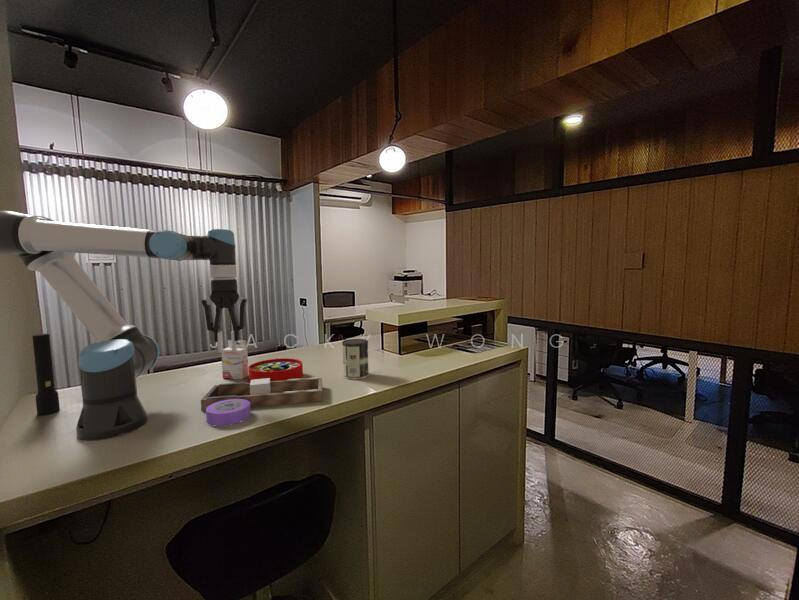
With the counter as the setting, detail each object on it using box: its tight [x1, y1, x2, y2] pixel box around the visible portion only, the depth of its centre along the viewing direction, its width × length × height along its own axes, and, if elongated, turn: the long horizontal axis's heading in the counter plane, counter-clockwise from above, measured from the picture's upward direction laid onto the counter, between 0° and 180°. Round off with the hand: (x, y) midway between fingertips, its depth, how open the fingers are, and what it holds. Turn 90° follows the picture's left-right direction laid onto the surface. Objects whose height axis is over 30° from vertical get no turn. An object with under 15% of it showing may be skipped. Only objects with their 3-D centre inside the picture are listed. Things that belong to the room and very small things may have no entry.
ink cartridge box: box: [221, 339, 249, 380], centre depth 145 cm, size 9×5×15 cm, turn 84°
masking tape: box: [205, 399, 252, 427], centre depth 106 cm, size 12×12×4 cm
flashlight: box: [31, 333, 60, 416], centre depth 110 cm, size 5×24×5 cm
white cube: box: [249, 378, 272, 395], centre depth 121 cm, size 6×6×6 cm
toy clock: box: [248, 357, 304, 383], centre depth 143 cm, size 20×6×20 cm
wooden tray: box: [200, 377, 323, 412], centre depth 122 cm, size 36×14×4 cm, turn 101°
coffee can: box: [341, 338, 370, 381], centre depth 145 cm, size 10×10×14 cm
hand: (227, 351), depth 118 cm, fingers open, 3 cm apart
